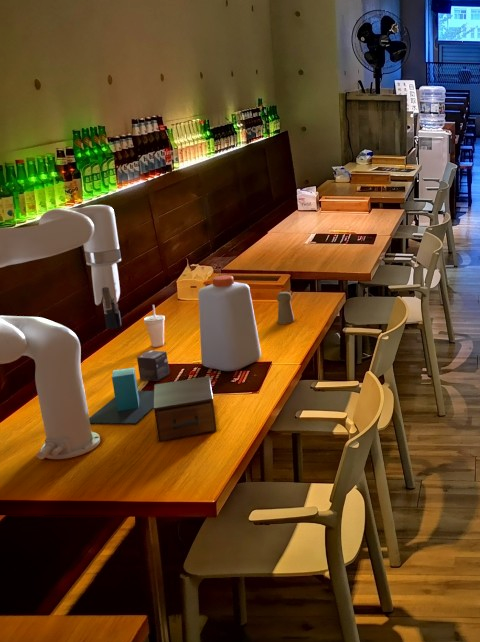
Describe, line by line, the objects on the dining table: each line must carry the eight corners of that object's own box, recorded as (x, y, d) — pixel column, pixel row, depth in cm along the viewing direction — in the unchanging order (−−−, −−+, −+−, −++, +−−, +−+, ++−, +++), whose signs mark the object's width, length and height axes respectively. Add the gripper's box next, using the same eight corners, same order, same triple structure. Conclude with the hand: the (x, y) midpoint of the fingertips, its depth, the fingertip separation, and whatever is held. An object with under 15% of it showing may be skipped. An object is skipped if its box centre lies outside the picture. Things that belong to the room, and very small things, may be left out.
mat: (136, 424, 189) (136, 423, 189) (83, 424, 190) (83, 422, 189) (171, 392, 209) (171, 390, 208) (123, 392, 209) (122, 390, 209)
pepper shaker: (274, 322, 267) (271, 294, 264) (283, 317, 272) (281, 289, 270) (288, 324, 265) (286, 295, 262) (297, 319, 271) (295, 291, 268)
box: (157, 381, 216) (154, 358, 214) (139, 380, 217) (136, 357, 215) (170, 373, 222) (167, 351, 220) (152, 372, 223) (149, 350, 221)
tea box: (138, 408, 198) (133, 374, 195) (117, 411, 196) (111, 377, 193) (139, 400, 202) (134, 367, 200) (118, 403, 200) (113, 370, 198)
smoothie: (171, 341, 249) (166, 302, 245) (163, 348, 243) (158, 308, 239) (152, 341, 248) (146, 302, 245) (144, 348, 242) (138, 308, 239)
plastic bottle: (267, 357, 234) (259, 274, 226) (232, 374, 221) (222, 286, 213) (231, 350, 240) (222, 268, 233) (196, 366, 227) (185, 280, 219)
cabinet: (216, 431, 186) (212, 398, 183) (158, 441, 180) (153, 408, 178) (213, 406, 199) (209, 376, 197) (159, 415, 194) (154, 384, 192)
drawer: (215, 437, 181) (211, 410, 179) (160, 447, 176) (156, 420, 174) (211, 407, 197) (208, 382, 195) (161, 415, 192) (157, 390, 190)
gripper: (89, 251, 182) (100, 320, 187) (81, 264, 169) (93, 339, 174) (122, 248, 185) (132, 316, 190) (117, 261, 172) (128, 334, 177)
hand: (114, 327), depth 182 cm, fingers closed
